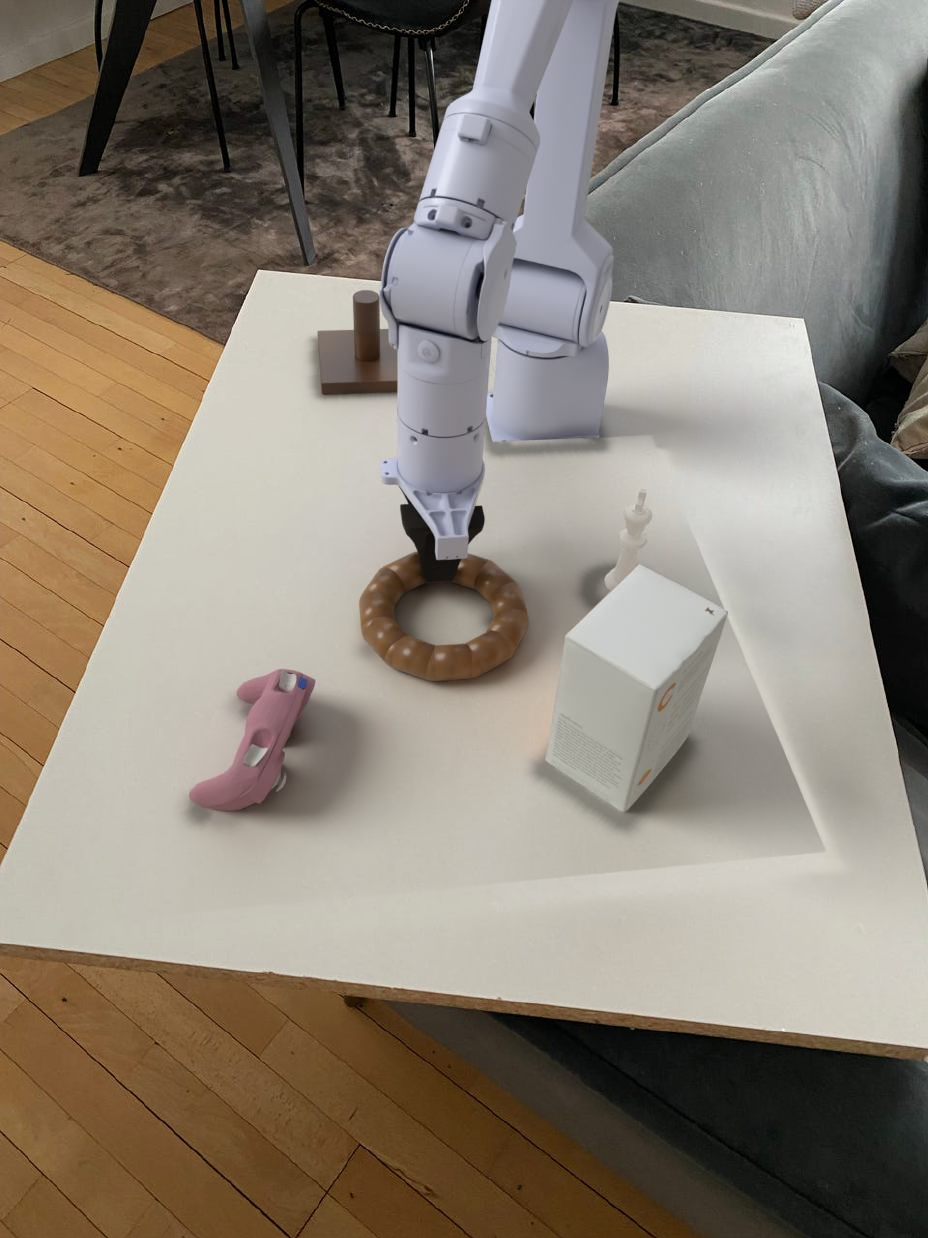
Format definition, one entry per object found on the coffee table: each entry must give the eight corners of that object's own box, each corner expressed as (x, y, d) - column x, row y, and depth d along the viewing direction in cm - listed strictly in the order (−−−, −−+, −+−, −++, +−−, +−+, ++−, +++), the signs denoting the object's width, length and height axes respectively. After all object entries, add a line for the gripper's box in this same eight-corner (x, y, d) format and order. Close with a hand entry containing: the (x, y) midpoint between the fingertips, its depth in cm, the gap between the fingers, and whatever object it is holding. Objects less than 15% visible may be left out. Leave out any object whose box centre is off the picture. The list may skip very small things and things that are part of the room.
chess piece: (658, 580, 81) (684, 478, 73) (645, 623, 77) (671, 521, 70) (596, 564, 82) (616, 461, 74) (580, 606, 78) (599, 503, 71)
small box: (607, 697, 72) (639, 559, 63) (687, 745, 70) (732, 609, 60) (539, 770, 68) (562, 634, 58) (621, 825, 65) (660, 691, 56)
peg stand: (410, 338, 103) (411, 270, 97) (419, 391, 97) (421, 321, 91) (318, 341, 102) (314, 272, 96) (321, 394, 95) (317, 324, 90)
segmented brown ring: (510, 562, 80) (513, 539, 78) (538, 680, 72) (541, 657, 70) (355, 571, 78) (354, 547, 76) (366, 693, 70) (365, 670, 68)
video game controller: (247, 840, 65) (288, 793, 60) (179, 809, 64) (216, 758, 59) (296, 718, 72) (337, 667, 67) (236, 688, 71) (273, 633, 66)
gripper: (371, 350, 72) (374, 502, 82) (388, 486, 62) (390, 640, 72) (473, 347, 73) (464, 498, 82) (506, 480, 63) (491, 633, 73)
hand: (436, 564), depth 77 cm, fingers closed on segmented brown ring, 2 cm apart
